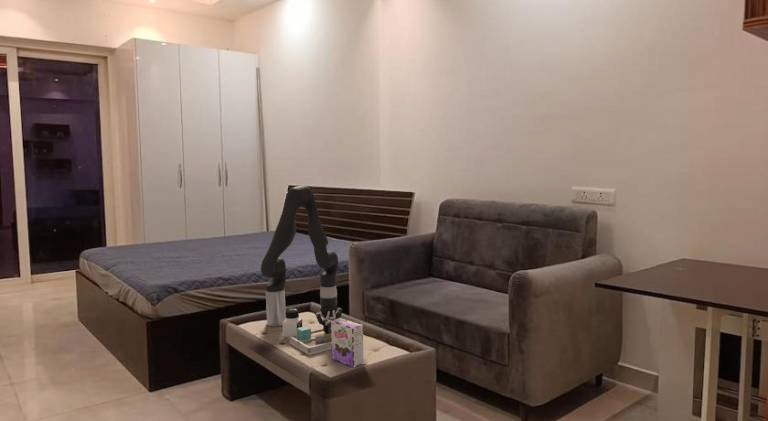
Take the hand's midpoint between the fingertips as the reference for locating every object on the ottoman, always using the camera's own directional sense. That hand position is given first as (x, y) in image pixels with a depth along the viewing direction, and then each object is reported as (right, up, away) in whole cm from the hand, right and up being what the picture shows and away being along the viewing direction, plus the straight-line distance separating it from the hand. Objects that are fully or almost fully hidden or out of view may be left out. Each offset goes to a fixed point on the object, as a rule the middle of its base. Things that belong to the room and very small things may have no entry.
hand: (329, 331), depth 252 cm
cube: (-11, -1, -8) cm, 13 cm away
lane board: (-4, -3, -8) cm, 10 cm away
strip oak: (-6, -3, -4) cm, 7 cm away
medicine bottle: (-17, -2, +4) cm, 18 cm away
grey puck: (-3, -2, -13) cm, 14 cm away
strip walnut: (-1, -4, -11) cm, 12 cm away
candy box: (+10, -6, -29) cm, 31 cm away
